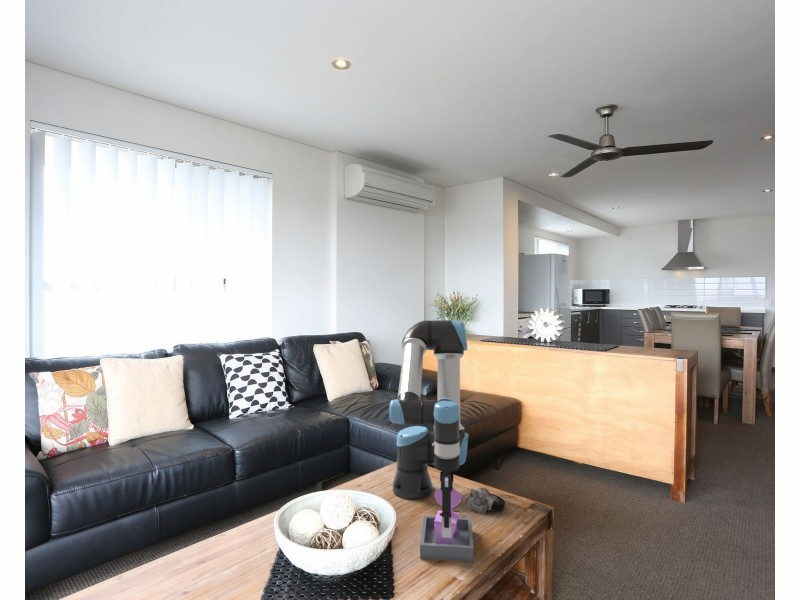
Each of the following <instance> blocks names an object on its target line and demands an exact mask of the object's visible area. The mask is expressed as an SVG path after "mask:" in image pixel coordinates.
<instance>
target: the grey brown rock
mask: <svg viewBox="0 0 800 600" xmlns="http://www.w3.org/2000/svg"><path fill="white" fill-rule="evenodd" d="M505 506H506V501H505V500H504V499H503V498H502V497H500V496H499V495H497V494H494V493H492V492H490V490H488V489H487V488H485V487H479V488H477V489H475V488H471V489H470V492H469V496H468V500H467V504H466V507H467V508H469V509H470V510H473V511H475V512H477V513H479V514H481V515H483V514H484V516H485V515H486V513H487V511H488V510H489V511H495V512H503V511H504V509H505Z"/></svg>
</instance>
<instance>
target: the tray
mask: <svg viewBox="0 0 800 600" xmlns="http://www.w3.org/2000/svg"><path fill="white" fill-rule="evenodd" d="M435 518H436V515H433V516H432V515H423V517H422V519H423V520H422V528H421V536H420V543H419V552H420V553H419V559H424V560H425V559H426V560H439V561H440V560H441V561H453V562H469V563H470V562H471V563H473V562H474V539H473V525H472V524H473V523H472V518H471V517H459V518H458V520H457V524H456V525H457V529H458V531H459V534H453V543H454V545H450V544H435V543H436V540H437V534H436V531H435V527H434V520H435Z"/></svg>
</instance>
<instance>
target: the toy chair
mask: <svg viewBox="0 0 800 600" xmlns="http://www.w3.org/2000/svg"><path fill="white" fill-rule="evenodd" d="M434 499H435V500H436V502H437V504H438V505H440V506H441V507H442V491H441V487H440V488H439V489H437V490H435V492H434ZM461 501H462V495H461V494H460V492H459V491H457V489H455V488H453V490H452V491H451V538H445V537H442V516H440V513H442V509H441V510H437V513H436V515H435V516H436V518H435V520H434V527H435V531H436V534H437V540H436V543H435V544H450V545H454V543H453V534H459V531H458V529H457V525H456V524H457V520H458V518H460V513H459V512H455V511H454V508H456V507H458V505H459V504H460V503H461Z"/></svg>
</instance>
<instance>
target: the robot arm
mask: <svg viewBox="0 0 800 600" xmlns="http://www.w3.org/2000/svg"><path fill="white" fill-rule="evenodd" d="M400 347H401V351H402V361H401V367H400V368H401V369H400V376H399V384H398V385H399V386H398V392H397V398H395V399H391V400H390V403H389V408H388V409H389V411H388V413H389V415H388V417H389V421H390V423H392V424H400V425H409V424H410V425H414V426H408V427H405V428H402V429H401V430H399V432H397V435H396V444H395V445H396V472H395V474H394V475H395V476H394V479H393V481H392V492H393V494H394V495H395V496H398V497H399V498H402V499H406V500H408V499H410V500H416V499H423V498H427V497H428V496H430V495H432V493H433V482H432V479H431V475H430V473H429V469H428V468H429V467H428V465H434V468H435V469H436V470H437V471H440V473H439V482H440V488H441V491H442V506H441V511H442V513H440V516H442V537H445V538H451V491H452V490H453V489H454V487H453V486H454V485H453V483H454V472H456V471H458V470H459V468H460V466H462V465H464V464H465V462H466V461H467V460H466V459H467V454H468V442H469V433H467V432H465V427H464V426H463V425H462V424H461V359H462V358H463V356H464V355H465V351H468V339H467V333H466V327H465V324H464V322H463V321H461V320H453V319H447V320H445V319H443V320H439V319H438V320H430V319H428V320H427V319H426V320H421V321H419V322H417V323H415V324H413V325H412V326H411V327H410V328H409V329H408V330H407V331H406V332H405V334H404V336H403V338H402V341H401V346H400ZM427 351H433V356H435V358H436V359H437V400H432V399H431V400H430V399H429V400H428V399H427V400H426V399H423V400H422V399H421V392H422V381H423V380H422V378H423V365H424V355H425V354H426V352H427ZM421 425H430V426H431V425H432V426H433V428H432V429H433V431H429V430H428V428H427V427H425V426H421Z"/></svg>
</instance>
